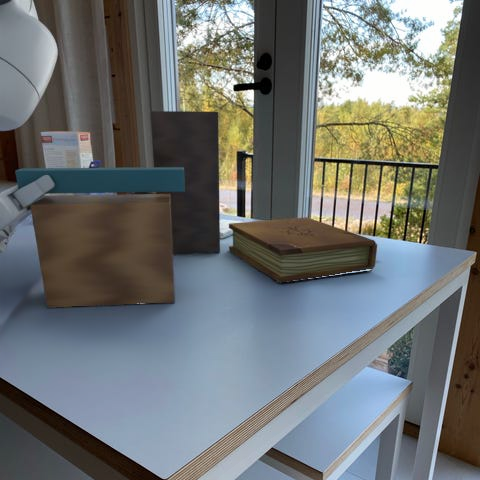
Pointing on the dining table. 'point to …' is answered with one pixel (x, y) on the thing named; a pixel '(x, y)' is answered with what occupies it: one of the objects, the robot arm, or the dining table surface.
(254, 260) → the diary
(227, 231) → the hard drive
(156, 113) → the stand
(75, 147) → the cracker box
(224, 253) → the dining table surface
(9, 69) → the robot arm
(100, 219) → the brown wooden block
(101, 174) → the teal bar
